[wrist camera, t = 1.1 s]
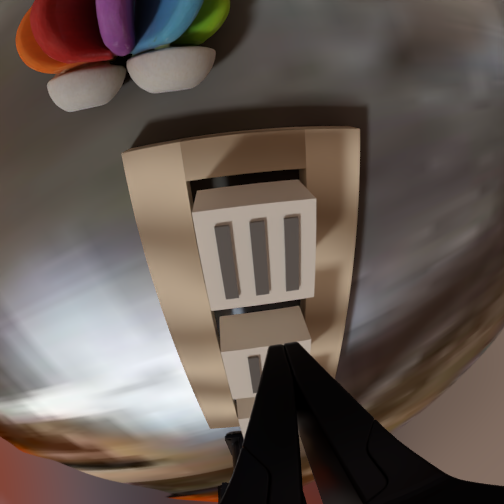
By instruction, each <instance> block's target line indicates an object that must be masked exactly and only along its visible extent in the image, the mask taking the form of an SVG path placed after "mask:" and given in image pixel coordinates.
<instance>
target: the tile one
mask: <svg viewBox="0 0 504 504" xmlns="http://www.w3.org/2000/svg"><path fill="white" fill-rule="evenodd" d="M236 401H237V412H238V420H239V424H240V428H241V431H242V435H243V438H244V437H245V434H246V430H247V426H248V423H249V419H250V416H251V412H252V408H253V405H254V401H255V397H250V398H241V399H236ZM298 433H299V431H298ZM299 435H300V434H299Z"/></svg>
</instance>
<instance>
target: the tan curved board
mask: <svg viewBox="0 0 504 504" xmlns="http://www.w3.org/2000/svg"><path fill="white" fill-rule="evenodd" d="M121 154H122V159H123V164H124V169H125V174H126V179H127V184H128V189H129V193H130V197H131V202H132V206H133V210H134V214H135V219H136V223H137V226H138V230H139V234H140V238H141V242H142V245H143V249H144V252H145V256H146V260H147V263H148V266H149V270H150V273H151V276H152V280H153V283H154V286H155V289H156V292H157V295H158V299H159V302H160V305H161V308H162V311H163V313H164V316H165V319H166V322H167V325H168V328H169V331H170V333H171V336H172V339H173V341H174V344H175V347H176V349H177V352H178V355H179V357H180V360H181V362H182V365H183V367H184V370H185V372H186V375H187V377H188V380H189V382H190V384H191V387H192V389H193V392H194V394H195V396H196V398H197V401H198V403H199V405H200V407H201V410H202V412H203V414H204V416H205V418H206V421H207V423H208V425H209V427H210V429H212V428H226V427H237V426H240V424H239V420H238V412H237V405H236V403H235V399H233V398H232V395H231V391H230V387H229V383H228V379H227V375H226V371H225V367H224V363H223V359H222V355H221V346H220V337H219V332H218V328H217V323H216V319H215V314H214V311H211V308H210V303H209V298H208V294H207V289H206V284H205V279H204V274H203V270H202V265H201V259H200V254H199V249H198V244H197V239H196V233H195V228H194V222H193V217H192V210H193V205H194V204H193V198H192V192H191V185H190V181H192V180H199V179H206V178H213V177H221V176H229V175H238V174H247V173H256V172H266V171H277V170H289V169H299V181H300V182H301V183H302V184H303V185H304V186H305V187H306V188H307V189H308V190H309V191H310V192H311V193H312V194H313V196H314V197H315V198H316V260H315V286H314V297H310V298H304V299H300V309H301V312H302V315H303V317H304V320H305V323H306V326H307V328H308V331H309V334H310V337H311V350H310V355H311V356H312V357H313V358H314V359H315V360H316V361H317V362H318V363H319V364H320V365H321V366H322V367H323V368H324V369H325V370H326V371H327V372H328V373H329V374H330V375H331V376H332V377H333V378H334V379H335V376H336V371H337V366H338V361H339V356H340V351H341V345H342V340H343V334H344V328H345V322H346V316H347V309H348V302H349V295H350V287H351V279H352V271H353V262H354V252H355V242H356V230H357V216H358V199H359V175H360V129H359V128H355V127H350V126H305V127H284V128H268V129H256V130H245V131H235V132H226V133H218V134H210V135H203V136H196V137H189V138H183V139H177V140H171V141H165V142H160V143H155V144H149V145H144V146H140V147H135V148H130V149H128V150H126V151H125V152H123V153H121Z"/></svg>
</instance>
